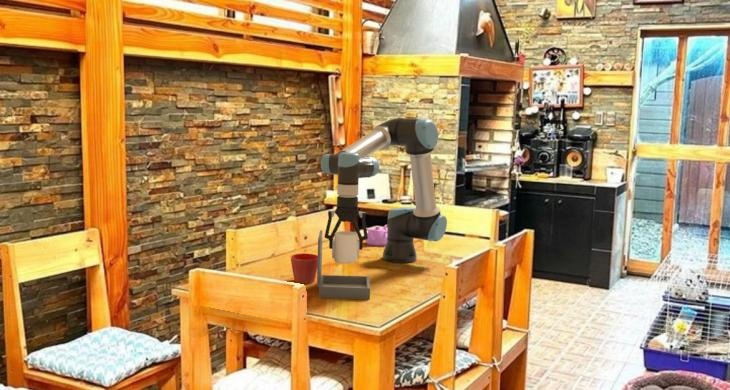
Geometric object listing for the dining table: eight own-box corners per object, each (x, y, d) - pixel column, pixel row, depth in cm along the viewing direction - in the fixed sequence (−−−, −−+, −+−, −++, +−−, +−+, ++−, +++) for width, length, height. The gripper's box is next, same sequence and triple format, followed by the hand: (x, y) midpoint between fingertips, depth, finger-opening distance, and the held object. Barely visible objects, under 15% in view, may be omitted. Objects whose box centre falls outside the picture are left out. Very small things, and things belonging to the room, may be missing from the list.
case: (368, 285, 267) (370, 231, 264) (369, 299, 248) (371, 240, 245) (317, 284, 266) (319, 229, 263) (315, 297, 248) (316, 239, 245)
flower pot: (307, 286, 263) (308, 260, 261) (284, 281, 268) (285, 256, 267) (324, 280, 272) (324, 256, 270) (301, 276, 277) (301, 252, 276)
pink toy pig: (386, 241, 352) (387, 224, 351) (391, 247, 338) (392, 229, 337) (363, 241, 350) (363, 223, 349) (366, 247, 337) (367, 228, 335)
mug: (336, 256, 261) (337, 228, 260) (358, 257, 260) (359, 229, 259) (332, 263, 249) (333, 234, 248) (355, 264, 248) (356, 235, 247)
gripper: (376, 195, 256) (374, 256, 259) (318, 193, 255) (316, 254, 258) (377, 198, 248) (374, 261, 251) (317, 196, 248) (315, 259, 251)
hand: (345, 257), depth 255 cm, fingers closed on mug, 8 cm apart
